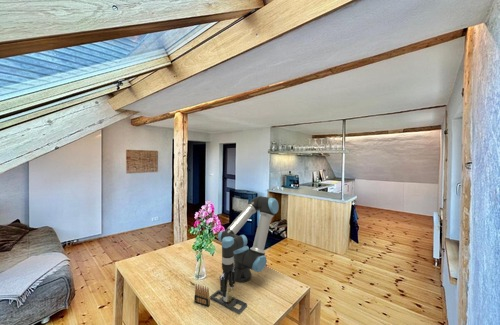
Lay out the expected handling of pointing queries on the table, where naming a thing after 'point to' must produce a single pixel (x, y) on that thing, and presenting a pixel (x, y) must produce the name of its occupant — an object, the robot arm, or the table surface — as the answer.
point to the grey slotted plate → (230, 305)
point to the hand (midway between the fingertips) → (227, 298)
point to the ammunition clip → (202, 296)
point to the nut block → (229, 296)
